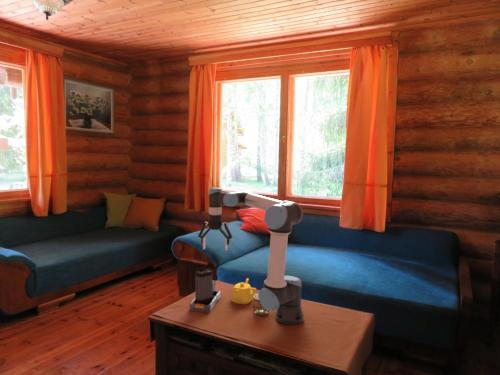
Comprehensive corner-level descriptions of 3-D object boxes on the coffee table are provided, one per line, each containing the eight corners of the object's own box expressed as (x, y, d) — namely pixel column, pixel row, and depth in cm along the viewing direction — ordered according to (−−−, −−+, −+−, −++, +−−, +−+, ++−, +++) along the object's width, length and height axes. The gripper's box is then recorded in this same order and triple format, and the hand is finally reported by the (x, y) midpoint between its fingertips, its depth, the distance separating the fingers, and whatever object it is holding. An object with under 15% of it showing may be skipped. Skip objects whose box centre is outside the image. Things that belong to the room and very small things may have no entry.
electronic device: (207, 301, 217) (207, 268, 215) (213, 304, 212) (213, 271, 210) (194, 305, 211) (194, 271, 209) (199, 308, 206) (199, 274, 204)
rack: (220, 297, 225) (220, 280, 224) (209, 313, 203) (209, 294, 202) (202, 295, 228) (202, 278, 226) (189, 311, 206) (189, 292, 204)
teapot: (250, 309, 209) (251, 291, 208) (225, 305, 213) (225, 287, 212) (261, 295, 230) (261, 278, 228) (238, 292, 234) (238, 275, 233)
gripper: (237, 213, 216) (237, 248, 218) (196, 212, 220) (196, 246, 222) (234, 215, 208) (234, 252, 210) (192, 214, 212) (193, 250, 214)
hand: (215, 249), depth 216 cm, fingers open, 13 cm apart
